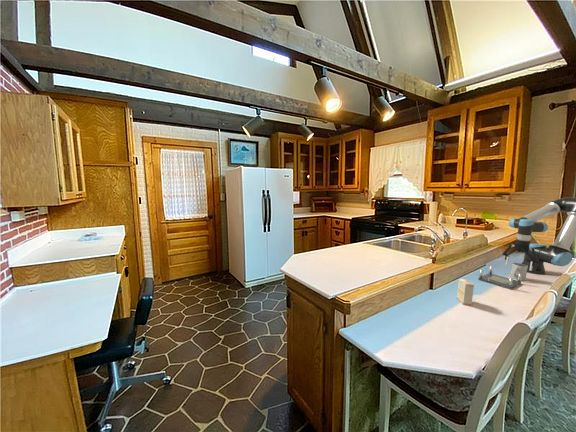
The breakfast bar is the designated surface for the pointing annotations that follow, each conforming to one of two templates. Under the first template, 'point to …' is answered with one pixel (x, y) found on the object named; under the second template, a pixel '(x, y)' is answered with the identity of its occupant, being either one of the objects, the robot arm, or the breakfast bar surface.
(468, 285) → the supplement box
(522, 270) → the mug
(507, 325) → the breakfast bar surface
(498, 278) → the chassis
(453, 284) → the breakfast bar surface
